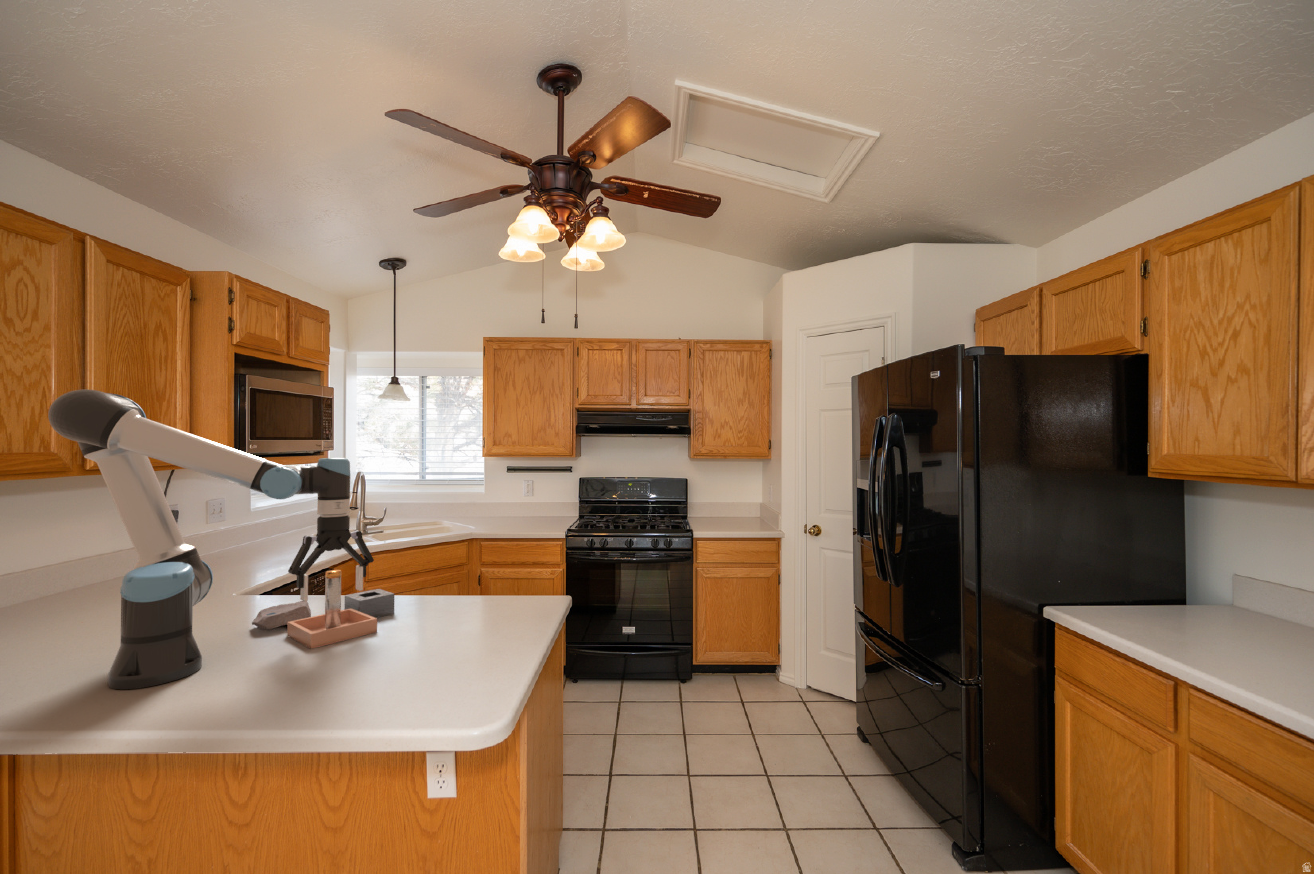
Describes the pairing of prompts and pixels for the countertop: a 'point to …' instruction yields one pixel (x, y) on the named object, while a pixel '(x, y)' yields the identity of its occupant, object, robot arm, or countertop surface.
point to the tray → (316, 635)
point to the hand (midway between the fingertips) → (332, 594)
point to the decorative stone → (281, 615)
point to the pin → (333, 599)
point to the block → (371, 602)
